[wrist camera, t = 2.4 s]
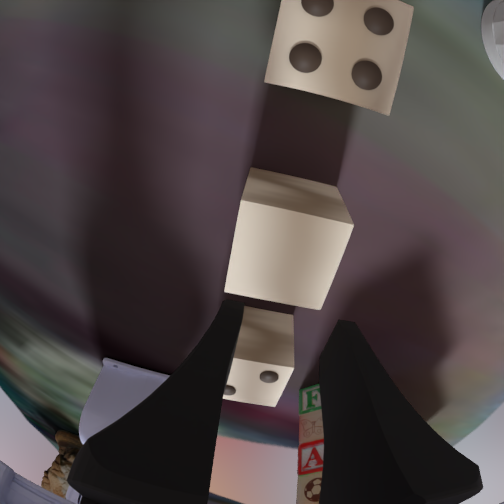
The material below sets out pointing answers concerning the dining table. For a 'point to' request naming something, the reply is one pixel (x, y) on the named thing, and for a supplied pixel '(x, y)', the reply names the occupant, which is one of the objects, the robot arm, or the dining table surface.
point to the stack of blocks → (310, 446)
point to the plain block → (287, 239)
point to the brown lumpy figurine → (62, 463)
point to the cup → (494, 34)
